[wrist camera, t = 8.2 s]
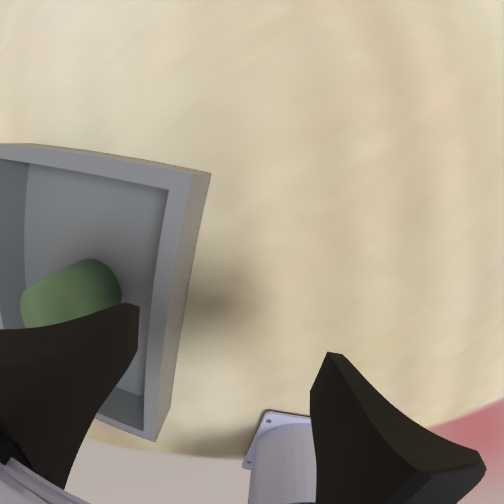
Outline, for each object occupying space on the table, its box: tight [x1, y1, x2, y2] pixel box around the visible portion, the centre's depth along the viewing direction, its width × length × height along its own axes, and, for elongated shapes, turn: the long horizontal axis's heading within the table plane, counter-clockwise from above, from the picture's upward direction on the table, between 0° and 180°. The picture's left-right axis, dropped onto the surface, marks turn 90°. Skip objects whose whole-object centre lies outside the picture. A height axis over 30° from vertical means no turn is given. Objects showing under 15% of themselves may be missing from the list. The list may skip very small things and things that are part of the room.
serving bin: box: [0, 143, 212, 442], centre depth 19 cm, size 20×16×4 cm
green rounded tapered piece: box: [20, 258, 121, 328], centre depth 17 cm, size 5×5×6 cm
